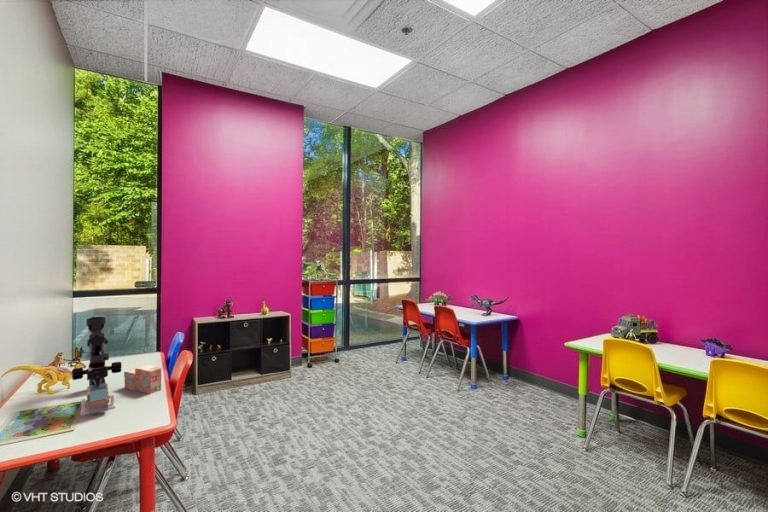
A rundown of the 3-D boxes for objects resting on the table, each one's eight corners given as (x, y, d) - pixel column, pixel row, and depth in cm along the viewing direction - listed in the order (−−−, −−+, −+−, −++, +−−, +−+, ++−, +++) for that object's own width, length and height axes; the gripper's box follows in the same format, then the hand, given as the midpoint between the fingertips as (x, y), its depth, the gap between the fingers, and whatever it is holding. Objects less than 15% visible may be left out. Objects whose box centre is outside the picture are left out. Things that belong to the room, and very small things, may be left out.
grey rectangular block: (89, 385, 174) (89, 391, 167) (105, 382, 178) (106, 388, 171) (89, 396, 174) (90, 402, 167) (105, 393, 178) (106, 399, 171)
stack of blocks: (124, 388, 203) (123, 366, 203) (135, 384, 209) (135, 362, 209) (150, 394, 195) (150, 371, 195) (161, 390, 201) (161, 367, 201)
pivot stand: (80, 411, 174) (80, 399, 173) (114, 404, 182) (114, 392, 182) (80, 415, 170) (80, 402, 170) (115, 407, 178) (115, 395, 178)
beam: (86, 397, 186) (86, 387, 185) (108, 392, 191) (108, 383, 191) (85, 415, 166) (85, 403, 166) (110, 409, 172) (110, 398, 172)
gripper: (71, 351, 172) (71, 380, 163) (121, 345, 184) (122, 372, 175) (72, 365, 178) (72, 394, 169) (120, 358, 190) (121, 384, 181)
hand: (97, 385), depth 173 cm, fingers closed, pressing on grey rectangular block
